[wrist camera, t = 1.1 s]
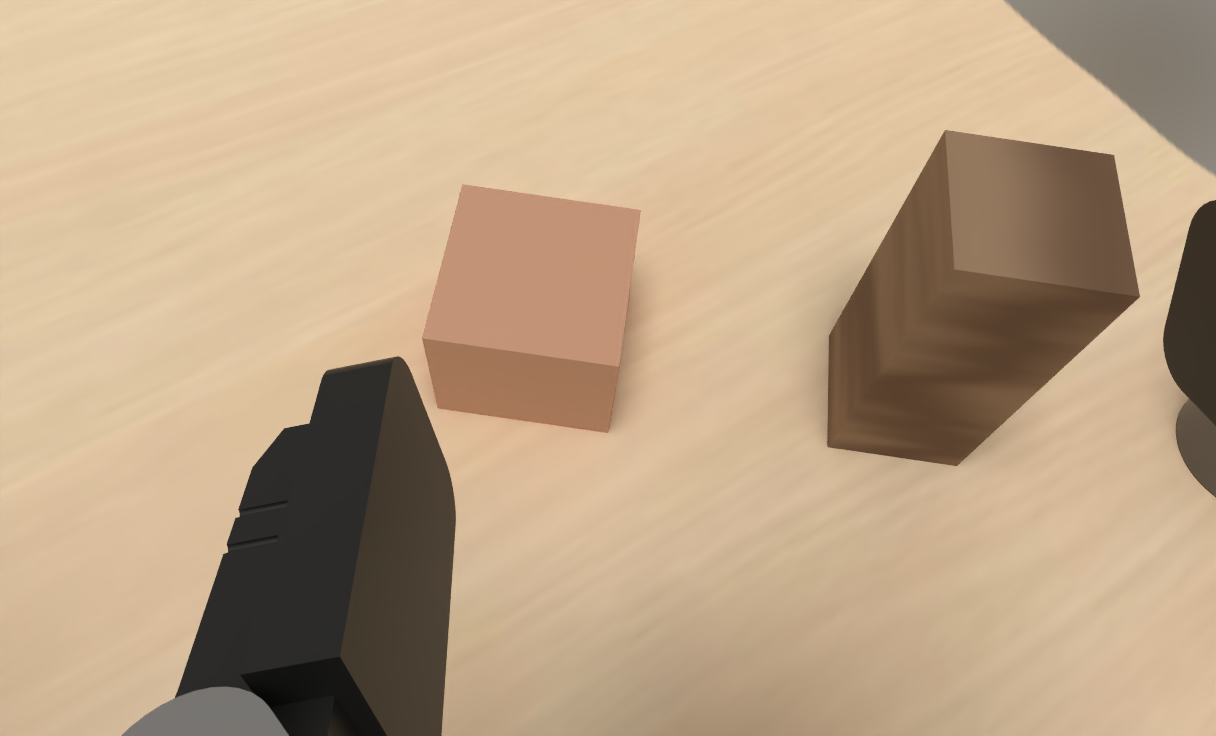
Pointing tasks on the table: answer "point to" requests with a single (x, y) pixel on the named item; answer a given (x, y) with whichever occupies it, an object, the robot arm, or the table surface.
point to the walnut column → (977, 296)
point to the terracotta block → (531, 308)
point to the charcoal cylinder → (1198, 444)
